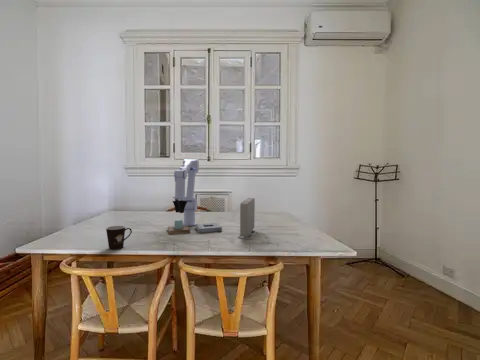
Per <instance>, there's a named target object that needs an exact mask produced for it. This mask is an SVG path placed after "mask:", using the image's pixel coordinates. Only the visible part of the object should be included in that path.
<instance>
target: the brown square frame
mask: <svg viewBox="0 0 480 360" xmlns="http://www.w3.org/2000/svg"><path fill="white" fill-rule="evenodd" d="M167 232H168V235H181V234H190V233H191V229H190V226H184V225H183V229H175V226H174V225H173V226H167Z"/></svg>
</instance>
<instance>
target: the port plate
mask: <svg viewBox="0 0 480 360" xmlns="http://www.w3.org/2000/svg"><path fill="white" fill-rule="evenodd" d="M194 229H195V230H196V231H197V233H198V234H202V233H205V234H206V233H216V232H217V233H219V232H220V233H221V232H223V227H222V226H221V225H220V224H219V223H218V222H209V223H195V225H194Z"/></svg>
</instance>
